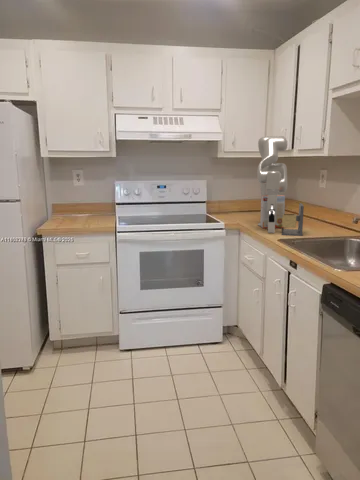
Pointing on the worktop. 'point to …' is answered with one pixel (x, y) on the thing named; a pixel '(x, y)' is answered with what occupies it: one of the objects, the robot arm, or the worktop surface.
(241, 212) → the worktop surface
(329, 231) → the worktop surface
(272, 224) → the rail post
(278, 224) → the cracker box
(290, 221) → the cup bracket
